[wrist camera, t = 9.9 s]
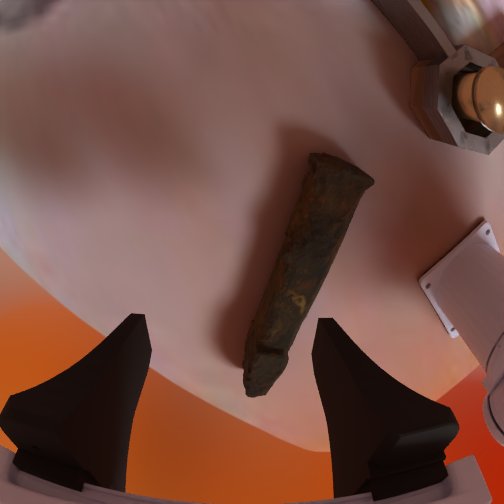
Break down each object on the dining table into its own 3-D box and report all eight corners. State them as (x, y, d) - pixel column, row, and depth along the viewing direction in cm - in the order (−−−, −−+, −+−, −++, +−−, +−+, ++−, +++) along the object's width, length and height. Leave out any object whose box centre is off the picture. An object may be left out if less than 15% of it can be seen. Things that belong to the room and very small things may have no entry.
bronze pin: (462, 125, 18) (518, 140, 12) (420, 115, 18) (476, 126, 12) (465, 75, 16) (522, 78, 11) (423, 62, 16) (478, 57, 10)
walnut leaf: (534, 70, 15) (562, 72, 12) (442, 159, 19) (470, 172, 16) (498, 2, 13) (525, -3, 9) (392, 82, 17) (419, 81, 14)
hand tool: (306, 142, 19) (323, 155, 15) (361, 166, 19) (390, 185, 15) (216, 360, 27) (213, 401, 22) (260, 370, 27) (262, 411, 23)
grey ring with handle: (492, 112, 17) (523, 118, 14) (442, 159, 19) (470, 172, 16) (378, -49, 12) (399, -68, 9) (311, -10, 14) (324, -30, 11)
